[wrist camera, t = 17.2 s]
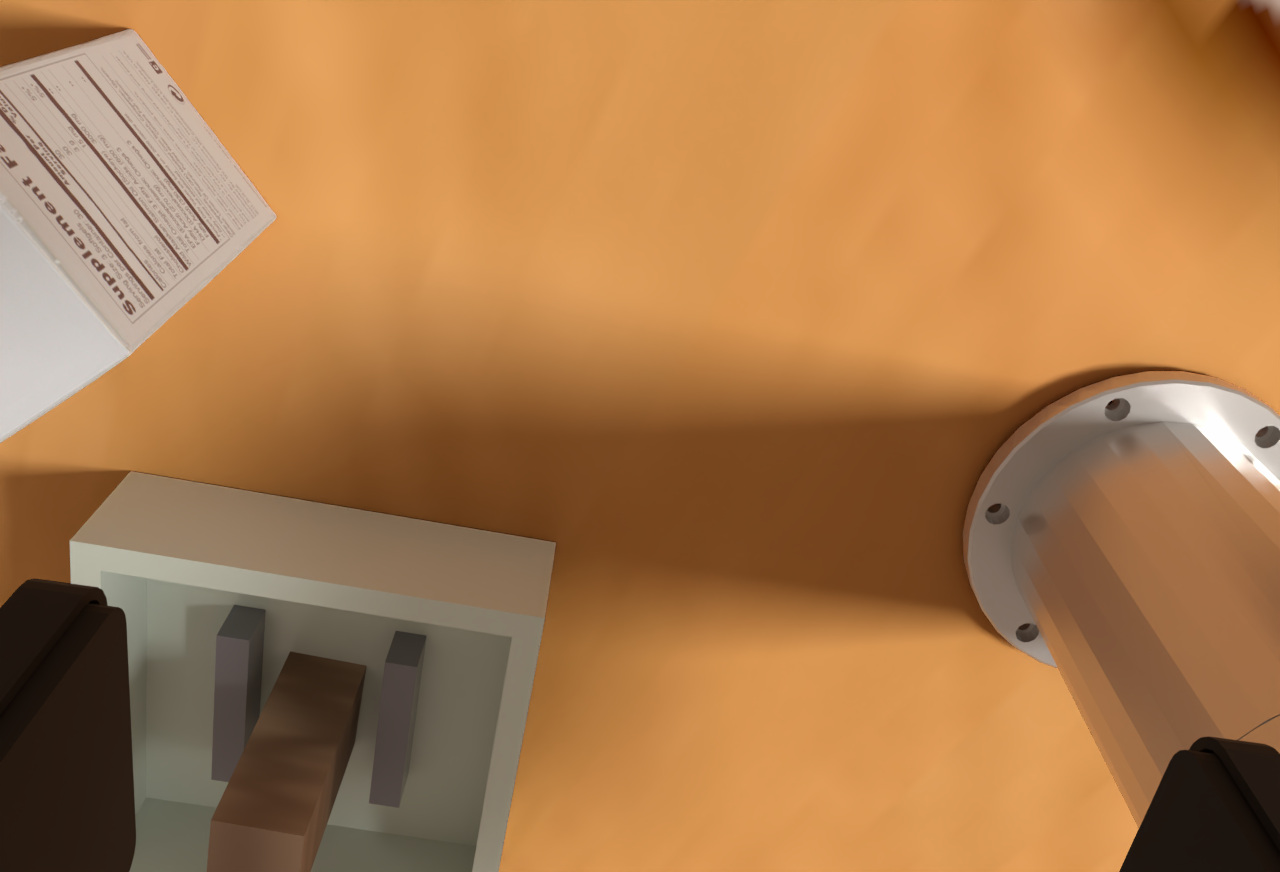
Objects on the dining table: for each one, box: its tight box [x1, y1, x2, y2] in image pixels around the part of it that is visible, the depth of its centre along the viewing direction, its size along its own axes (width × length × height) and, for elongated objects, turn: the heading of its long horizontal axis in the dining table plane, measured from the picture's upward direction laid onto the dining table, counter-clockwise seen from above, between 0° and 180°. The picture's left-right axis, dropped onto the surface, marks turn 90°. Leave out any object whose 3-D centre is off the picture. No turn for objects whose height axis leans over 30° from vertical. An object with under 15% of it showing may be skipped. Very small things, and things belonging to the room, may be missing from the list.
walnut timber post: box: [207, 651, 367, 872], centre depth 42 cm, size 3×4×9 cm
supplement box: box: [0, 29, 276, 443], centre depth 33 cm, size 7×7×13 cm
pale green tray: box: [70, 471, 556, 872], centre depth 45 cm, size 16×16×5 cm
